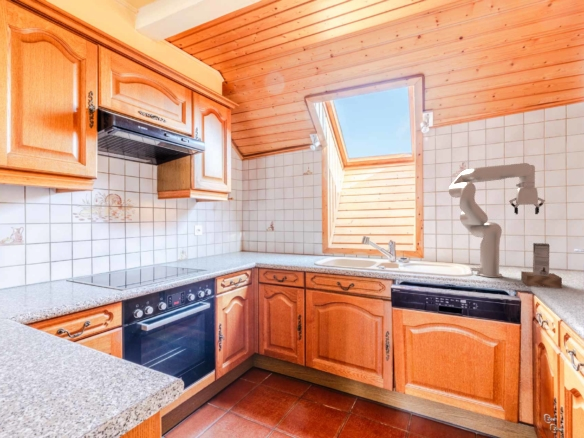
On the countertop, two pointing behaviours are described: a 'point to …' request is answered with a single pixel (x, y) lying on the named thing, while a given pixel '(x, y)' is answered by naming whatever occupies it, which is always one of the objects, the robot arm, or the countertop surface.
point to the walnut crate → (541, 280)
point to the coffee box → (541, 259)
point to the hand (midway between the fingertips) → (526, 214)
